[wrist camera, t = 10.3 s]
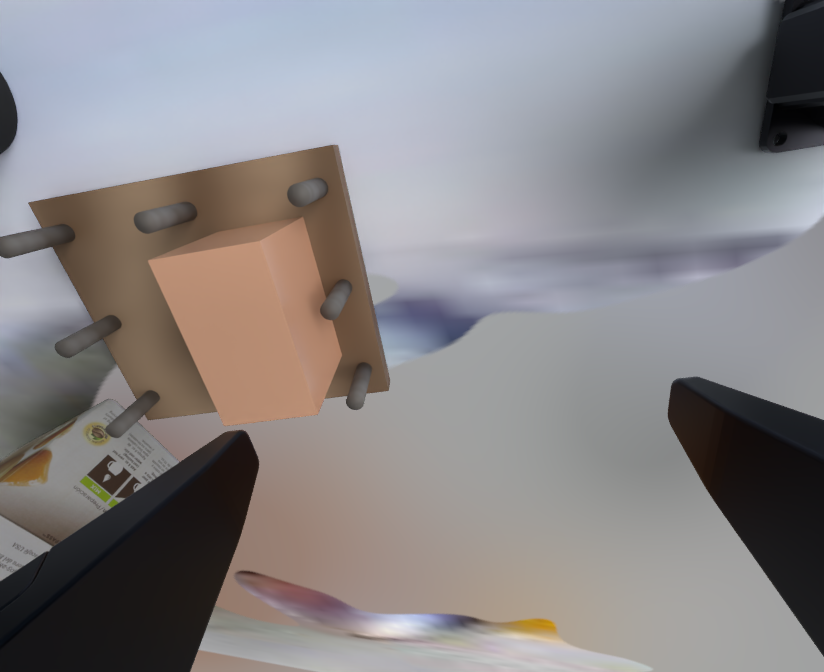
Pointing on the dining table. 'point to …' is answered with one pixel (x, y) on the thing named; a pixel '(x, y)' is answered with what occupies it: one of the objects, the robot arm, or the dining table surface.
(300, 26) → the dining table surface
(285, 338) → the peach rectangular block
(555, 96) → the dining table surface
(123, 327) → the brown peg board
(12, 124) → the drinking cup
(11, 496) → the coffee box
